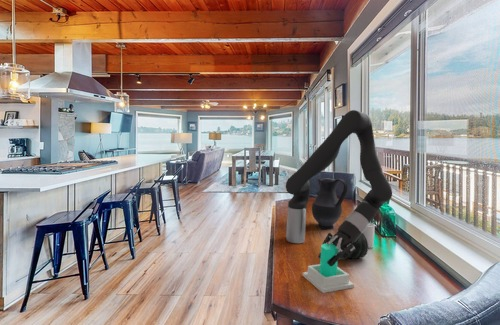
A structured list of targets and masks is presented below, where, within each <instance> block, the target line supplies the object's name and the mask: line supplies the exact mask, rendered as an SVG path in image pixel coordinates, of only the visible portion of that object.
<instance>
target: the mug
mask: <svg viewBox="0 0 500 325" xmlns="http://www.w3.org/2000/svg"><path fill="white" fill-rule="evenodd" d="M375 228H376V225H375V224H374V223H373V222H370V223H369V224H368V226H367V228H366V229H365V230H364V232H363V234H364V235H365V237H366V239H367V242H368V249H371V248H373V246H374V241H375ZM370 247H371V248H370Z"/></svg>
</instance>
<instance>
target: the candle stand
mask: <svg viewBox="0 0 500 325" xmlns="http://www.w3.org/2000/svg"><path fill="white" fill-rule="evenodd" d="M302 276H303V277H304V278H305V279H306V280H307V281H308V283H311V284H312V285H313V286H314V287H315V288H316V289H317V290H318V291H319V292H321V293H322V294H326V293H331V292H335V291H337V292H338V291H342V290H348V289H353V288H355V284H354V283H353V282H352V281H351V280H350V274H349V273H348V272H346V271H345V270H343V269H342V268H340V267H339V266H337V275H336V276H329V277H324V276H323V275H322V274H320V263H319V264H312V265H311V264H310V265H308V266H307V271H304V272H302Z"/></svg>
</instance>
